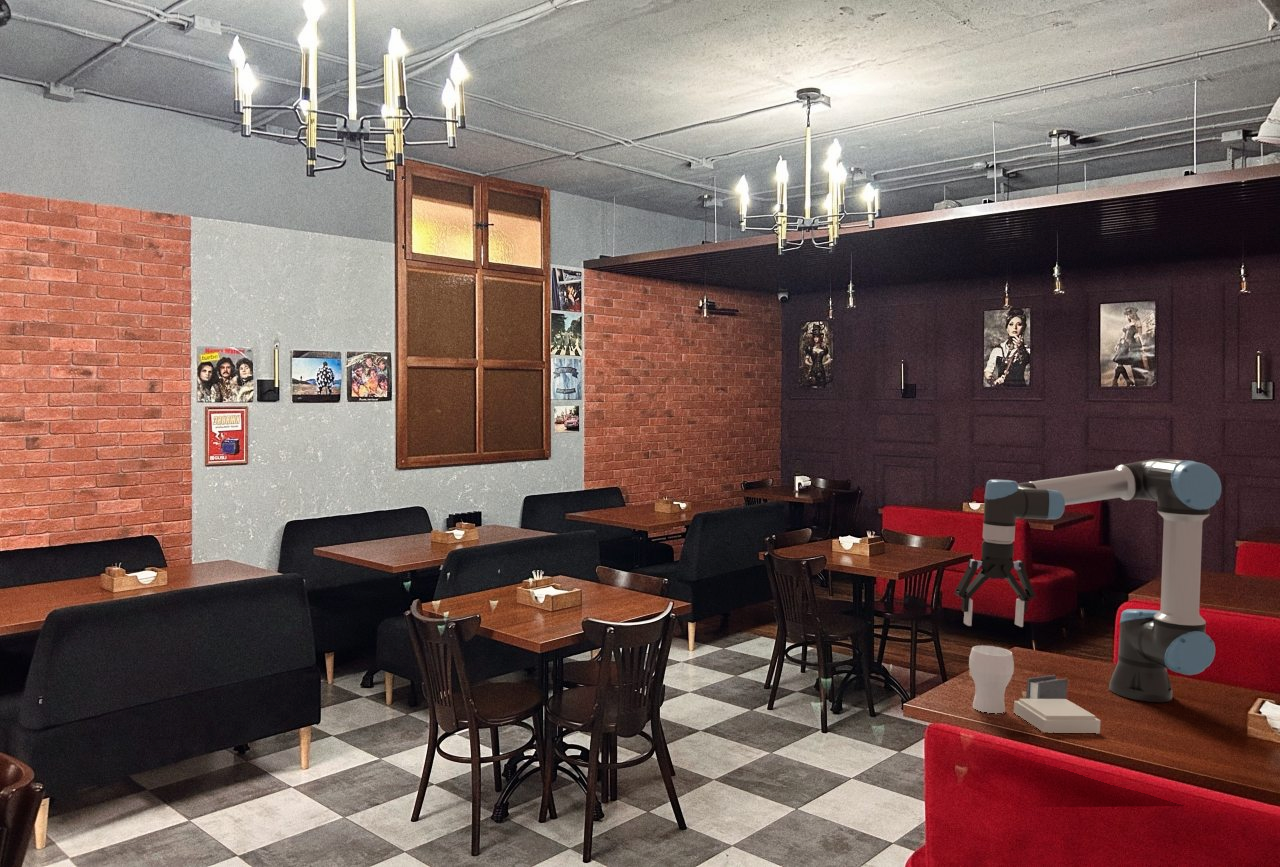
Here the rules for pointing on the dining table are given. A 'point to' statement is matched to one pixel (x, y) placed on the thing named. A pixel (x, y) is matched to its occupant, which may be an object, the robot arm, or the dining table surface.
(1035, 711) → the pedestal
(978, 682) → the cup
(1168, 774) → the dining table surface
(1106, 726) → the dining table surface
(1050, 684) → the napkin holder
